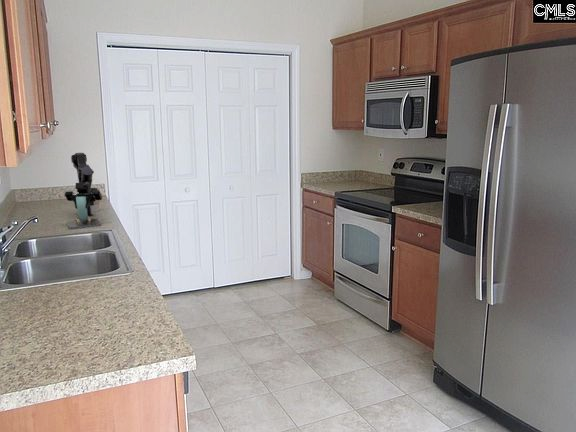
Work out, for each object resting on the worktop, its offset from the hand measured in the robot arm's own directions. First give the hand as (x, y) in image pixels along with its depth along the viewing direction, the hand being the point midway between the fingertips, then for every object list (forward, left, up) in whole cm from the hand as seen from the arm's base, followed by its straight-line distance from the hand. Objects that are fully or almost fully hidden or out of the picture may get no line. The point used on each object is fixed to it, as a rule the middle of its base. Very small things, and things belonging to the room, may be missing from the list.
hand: (81, 208), depth 258 cm
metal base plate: (-1, +1, -10) cm, 10 cm away
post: (-1, +1, -7) cm, 7 cm away
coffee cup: (-44, +12, -10) cm, 47 cm away
